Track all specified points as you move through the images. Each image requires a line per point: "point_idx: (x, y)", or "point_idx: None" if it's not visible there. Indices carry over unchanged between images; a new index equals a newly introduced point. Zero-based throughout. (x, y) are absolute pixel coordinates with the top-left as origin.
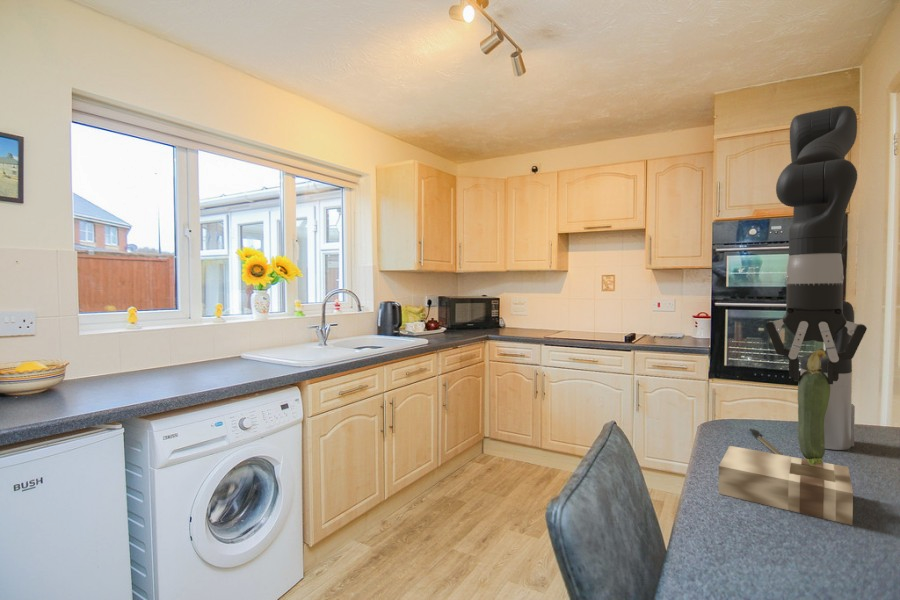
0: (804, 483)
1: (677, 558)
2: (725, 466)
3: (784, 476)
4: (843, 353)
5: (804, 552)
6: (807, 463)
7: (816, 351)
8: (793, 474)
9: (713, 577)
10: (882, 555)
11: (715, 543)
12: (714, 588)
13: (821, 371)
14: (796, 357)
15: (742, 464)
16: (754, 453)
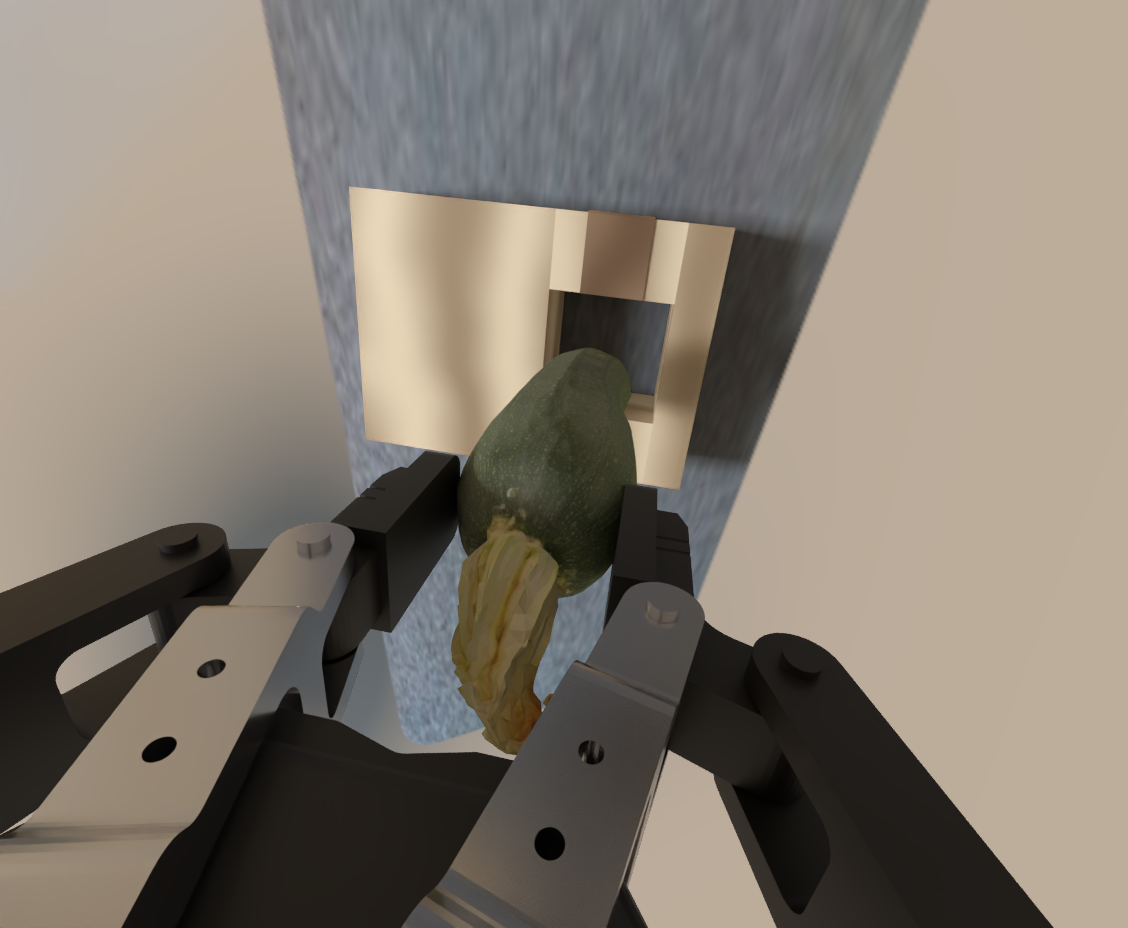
0: None
1: (399, 686)
2: (381, 434)
3: None
4: (722, 765)
5: (566, 604)
6: (600, 275)
7: (485, 734)
8: None
9: (449, 710)
10: (695, 563)
11: (437, 629)
12: (454, 730)
13: (573, 555)
14: (361, 653)
15: (418, 392)
16: (437, 243)
